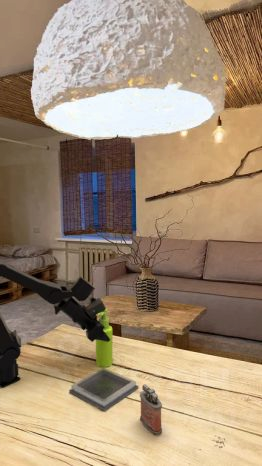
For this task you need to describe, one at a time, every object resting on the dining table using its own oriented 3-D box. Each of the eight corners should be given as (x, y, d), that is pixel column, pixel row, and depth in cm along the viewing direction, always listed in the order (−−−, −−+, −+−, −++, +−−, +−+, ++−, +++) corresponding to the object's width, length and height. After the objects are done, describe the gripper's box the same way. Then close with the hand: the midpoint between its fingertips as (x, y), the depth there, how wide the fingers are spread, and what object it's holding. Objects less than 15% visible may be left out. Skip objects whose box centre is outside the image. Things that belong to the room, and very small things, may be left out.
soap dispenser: (92, 367, 120) (91, 312, 118) (99, 357, 127) (99, 305, 124) (108, 369, 119) (107, 314, 116) (114, 360, 125) (114, 307, 122)
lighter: (165, 432, 87) (165, 395, 86) (153, 437, 85) (153, 399, 84) (148, 415, 94) (147, 380, 93) (137, 419, 92) (136, 383, 91)
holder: (104, 411, 95) (104, 404, 95) (69, 392, 105) (69, 385, 105) (138, 388, 107) (138, 381, 107) (103, 373, 116) (103, 366, 116)
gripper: (97, 300, 110) (130, 328, 115) (85, 286, 128) (114, 311, 132) (73, 327, 108) (108, 355, 113) (65, 309, 126) (95, 334, 131)
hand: (107, 337), depth 122 cm, fingers closed on soap dispenser, 6 cm apart
